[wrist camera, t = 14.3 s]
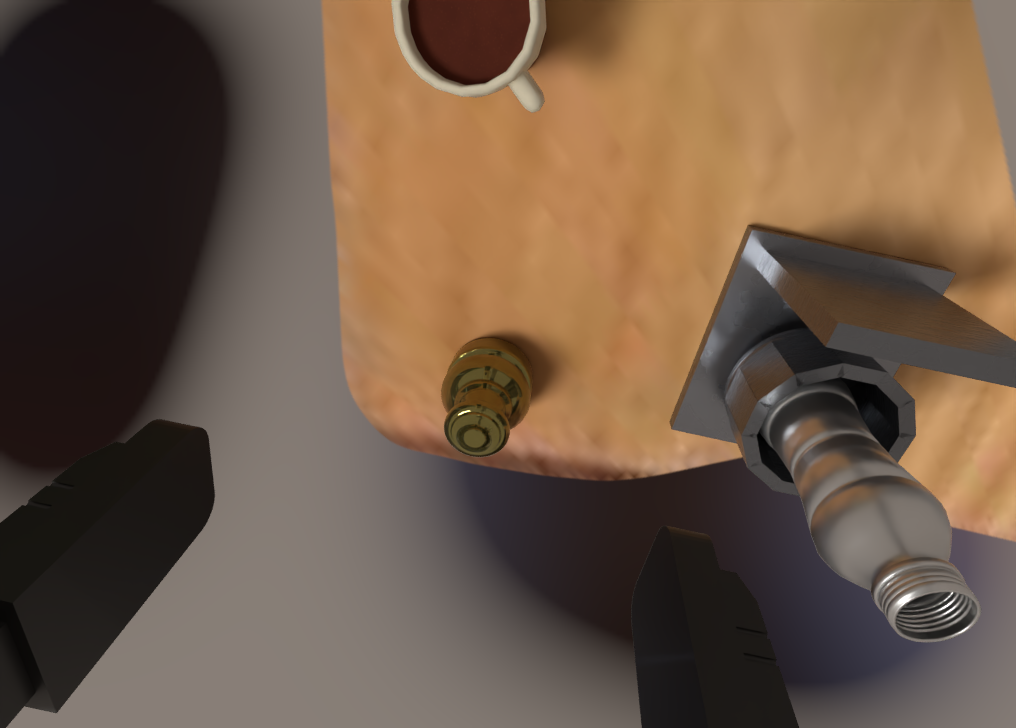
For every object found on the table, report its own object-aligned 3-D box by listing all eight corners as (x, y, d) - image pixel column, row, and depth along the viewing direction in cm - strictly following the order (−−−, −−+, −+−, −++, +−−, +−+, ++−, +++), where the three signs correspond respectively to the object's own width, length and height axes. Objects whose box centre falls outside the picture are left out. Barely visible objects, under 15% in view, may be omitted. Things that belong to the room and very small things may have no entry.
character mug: (405, -7, 37) (329, -38, 26) (487, -95, 34) (443, -173, 23) (508, 133, 40) (481, 161, 29) (590, 63, 38) (596, 62, 26)
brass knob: (439, 345, 49) (409, 407, 40) (520, 327, 47) (508, 386, 39) (465, 414, 52) (443, 485, 44) (543, 399, 51) (536, 470, 42)
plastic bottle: (854, 393, 43) (1048, 624, 25) (775, 441, 45) (900, 679, 28) (806, 337, 41) (979, 542, 23) (727, 390, 44) (828, 609, 26)
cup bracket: (747, 225, 42) (821, 294, 29) (946, 268, 42) (1105, 355, 29) (669, 421, 50) (700, 539, 38) (833, 457, 50) (919, 587, 38)
